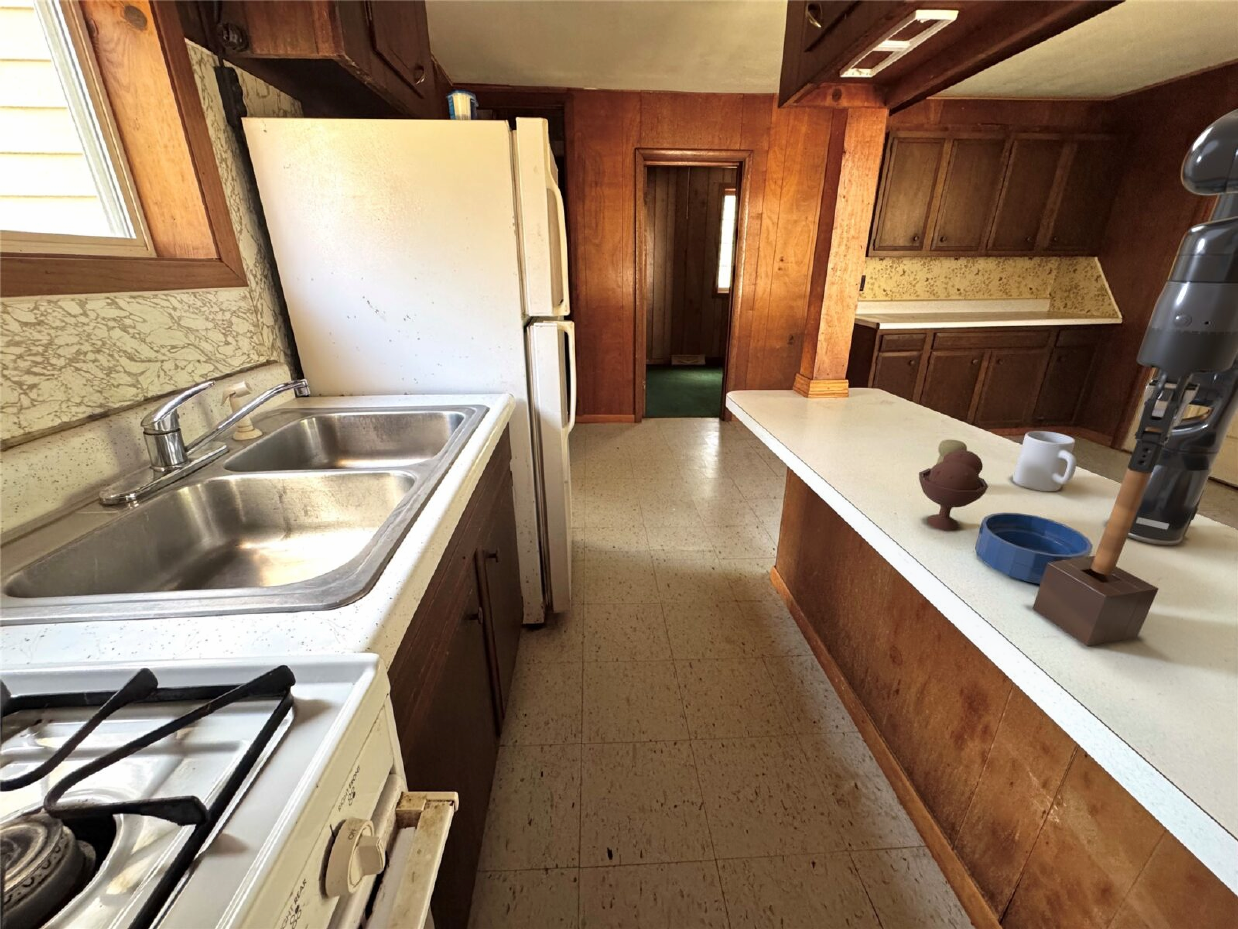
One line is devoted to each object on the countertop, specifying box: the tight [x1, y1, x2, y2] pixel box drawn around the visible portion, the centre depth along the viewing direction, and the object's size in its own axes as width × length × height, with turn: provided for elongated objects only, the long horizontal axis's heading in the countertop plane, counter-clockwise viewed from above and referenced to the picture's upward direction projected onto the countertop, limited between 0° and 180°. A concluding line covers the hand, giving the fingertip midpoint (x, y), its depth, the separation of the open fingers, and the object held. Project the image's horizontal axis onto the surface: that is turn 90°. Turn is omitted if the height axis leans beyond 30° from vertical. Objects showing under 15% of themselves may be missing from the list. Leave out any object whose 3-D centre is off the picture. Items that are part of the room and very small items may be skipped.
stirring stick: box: [1091, 427, 1162, 575], centre depth 65 cm, size 2×2×20 cm
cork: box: [935, 439, 968, 465], centre depth 111 cm, size 6×6×11 cm
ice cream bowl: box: [918, 449, 989, 532], centre depth 96 cm, size 11×11×15 cm
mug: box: [1012, 430, 1077, 492], centre depth 110 cm, size 12×8×11 cm
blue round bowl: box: [974, 512, 1093, 585], centre depth 84 cm, size 14×14×6 cm
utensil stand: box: [1032, 555, 1160, 647], centre depth 70 cm, size 8×8×8 cm
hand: (1141, 467), depth 63 cm, fingers closed on stirring stick, 2 cm apart
